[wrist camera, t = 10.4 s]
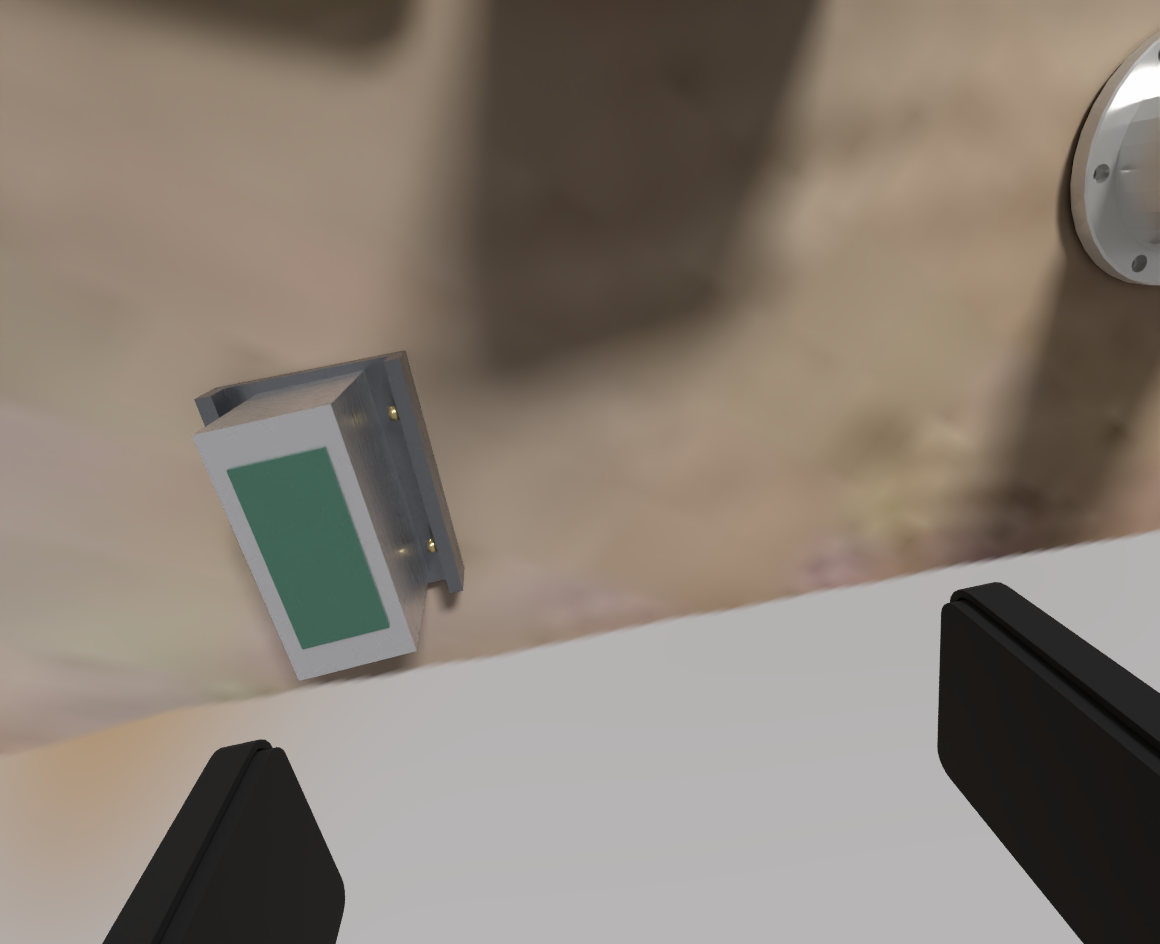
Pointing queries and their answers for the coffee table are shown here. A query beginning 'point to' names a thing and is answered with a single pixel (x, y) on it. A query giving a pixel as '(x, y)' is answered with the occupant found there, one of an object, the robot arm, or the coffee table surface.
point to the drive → (321, 521)
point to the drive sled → (404, 441)
